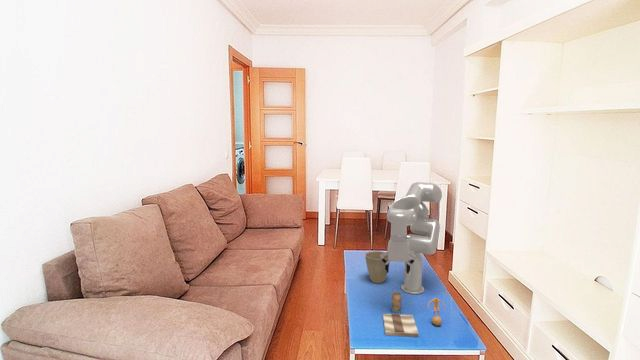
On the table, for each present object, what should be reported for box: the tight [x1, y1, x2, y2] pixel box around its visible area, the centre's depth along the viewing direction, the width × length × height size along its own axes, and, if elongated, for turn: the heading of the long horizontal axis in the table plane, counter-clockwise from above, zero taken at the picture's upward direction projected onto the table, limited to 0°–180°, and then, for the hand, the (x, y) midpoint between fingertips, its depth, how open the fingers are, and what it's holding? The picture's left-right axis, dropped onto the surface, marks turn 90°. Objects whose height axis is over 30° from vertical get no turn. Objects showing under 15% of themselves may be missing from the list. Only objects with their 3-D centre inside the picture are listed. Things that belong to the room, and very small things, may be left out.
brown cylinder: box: [391, 291, 402, 314], centre depth 177 cm, size 4×4×9 cm
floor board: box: [382, 313, 420, 338], centre depth 164 cm, size 16×14×2 cm
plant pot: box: [364, 250, 391, 284], centre depth 213 cm, size 15×15×16 cm
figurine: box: [427, 297, 446, 326], centre depth 165 cm, size 8×6×12 cm
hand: (397, 272), depth 175 cm, fingers open, 9 cm apart
